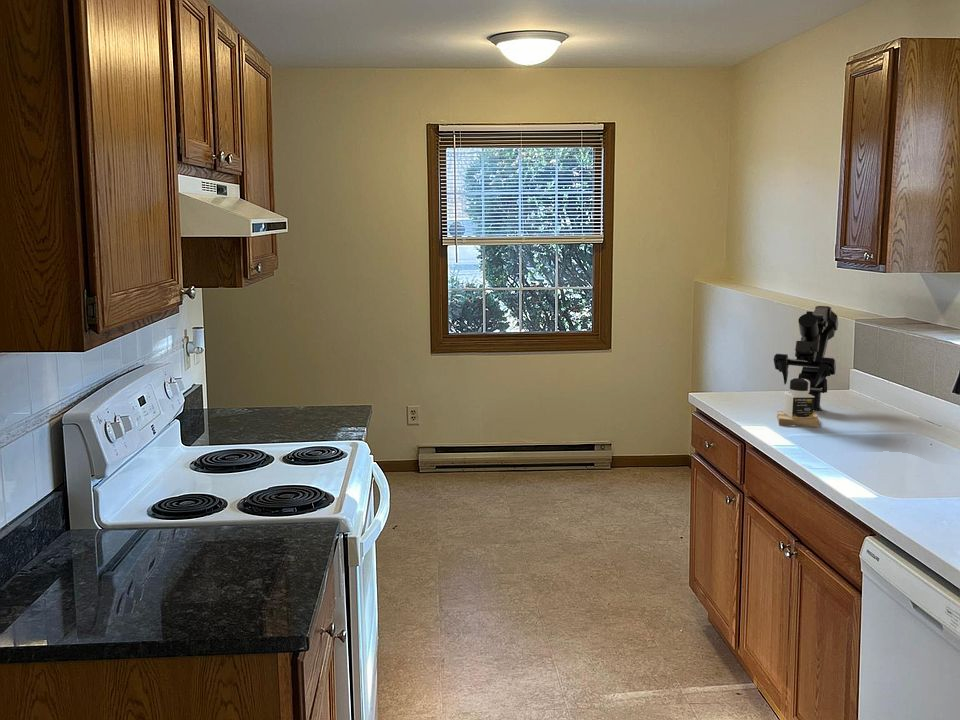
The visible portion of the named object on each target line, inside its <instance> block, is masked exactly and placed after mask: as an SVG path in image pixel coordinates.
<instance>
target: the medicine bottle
mask: <svg viewBox="0 0 960 720" xmlns="http://www.w3.org/2000/svg"><path fill="white" fill-rule="evenodd" d="M789 381H790V382H789V392H788V391H785V392H784V393H783V395H784V396H783V408H782V409H783V410H782V411H783V414H785V415H787V416H789V417H791V418H813V414H814V413H815V410H814V400H815V397H814V396H812V395H810V394H808V393H809V392H810V381H809V380H807V379H802V378H798V377H797V378H796V377H794V378H793V379H790V380H789Z"/></svg>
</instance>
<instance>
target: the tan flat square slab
mask: <svg viewBox="0 0 960 720" xmlns="http://www.w3.org/2000/svg"><path fill="white" fill-rule="evenodd" d="M776 418H777V423H778V426H786V425H795V426H794V427H801V426H808V427H807V428H817V427H819V428H820V419H819V417H818V415H817V413H815V412H814V414H813V418H791V417H789V416H787V415H785V414H783V410H782V411H781V410H777V412H776Z"/></svg>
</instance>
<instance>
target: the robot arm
mask: <svg viewBox="0 0 960 720" xmlns="http://www.w3.org/2000/svg"><path fill="white" fill-rule="evenodd" d="M797 321H798V327H799V328H798V329H799V335H800V336H801V337H800V340H796V342H795V349H794V351H795V354H794V357H795V358H790V357H789V356H788V354H785V353H776V354H775V355H774V356H773V363H774V364H773V365H774V368H775V370H777V371H778V373H782V377H783V385H787V382H788V376H789V370H788V369H789V367H790V366H793V367H794V366H797V367H802V369H801V372H799V374H798V377H797V378H802V379H807V380H809V381H810V392H809V393H808V394H810V395H812V396H814V397H815V400H814V411H816V412H817V411H820V412H821V411H822V410H823V409H822V407H821V396H822V395H821V393H822V394H825V393H828V379H827V377H830V376H831V375H832V376H834V375H835V374H836V370H837V366H836V359H835V358H833V357H825V355H826V351H827V347H828V342H829V340H831V339H832V338H834V337H835V333H836V331H838V328H839V320H838V315H837V314H836V313H835V312H834V311H832V307H831V306H827V305H815V308H814V310H813V311H809V310H806V313H804V314H802V315H800V316H799V317H798V320H797Z"/></svg>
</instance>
